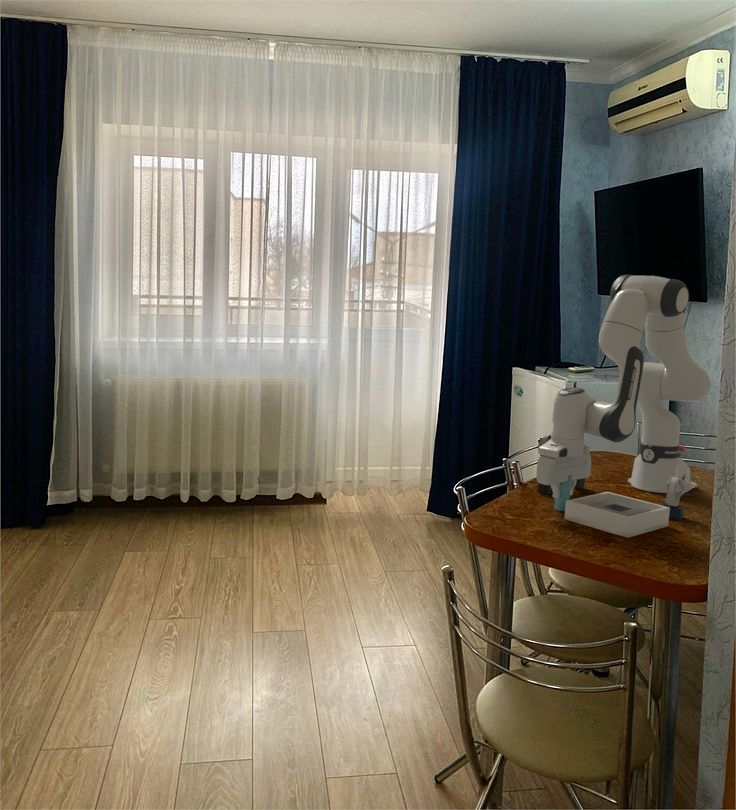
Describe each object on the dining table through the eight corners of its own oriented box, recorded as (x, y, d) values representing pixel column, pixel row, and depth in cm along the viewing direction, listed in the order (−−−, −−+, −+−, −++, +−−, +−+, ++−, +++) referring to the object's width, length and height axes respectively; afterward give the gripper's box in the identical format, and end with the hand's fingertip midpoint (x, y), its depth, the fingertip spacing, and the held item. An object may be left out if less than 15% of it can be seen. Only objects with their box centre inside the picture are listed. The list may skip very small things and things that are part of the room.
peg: (559, 506, 234) (562, 471, 233) (571, 510, 231) (575, 474, 230) (551, 508, 232) (554, 473, 230) (563, 512, 229) (566, 476, 227)
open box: (605, 509, 234) (607, 491, 233) (668, 526, 220) (669, 507, 219) (564, 519, 222) (565, 500, 221) (627, 537, 208) (629, 518, 207)
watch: (684, 515, 232) (689, 476, 230) (679, 521, 225) (683, 481, 223) (663, 511, 234) (667, 473, 233) (657, 518, 228) (661, 478, 226)
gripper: (579, 442, 238) (575, 489, 240) (534, 448, 225) (530, 498, 227) (598, 445, 233) (594, 494, 235) (553, 453, 220) (549, 504, 222)
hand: (562, 496), depth 231 cm, fingers closed on peg, 4 cm apart
